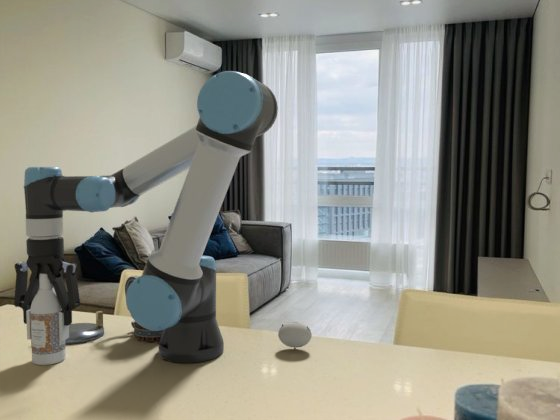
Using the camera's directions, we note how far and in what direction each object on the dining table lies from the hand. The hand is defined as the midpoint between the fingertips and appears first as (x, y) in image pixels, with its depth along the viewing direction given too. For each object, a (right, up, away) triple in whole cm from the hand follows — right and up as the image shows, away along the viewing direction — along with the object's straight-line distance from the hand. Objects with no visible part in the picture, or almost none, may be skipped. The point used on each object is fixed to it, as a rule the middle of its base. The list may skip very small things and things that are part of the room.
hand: (48, 338), depth 118 cm
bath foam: (0, -5, 0) cm, 5 cm away
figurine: (+56, -5, +8) cm, 56 cm away
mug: (+18, -4, +19) cm, 26 cm away
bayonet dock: (-1, -4, +18) cm, 18 cm away
